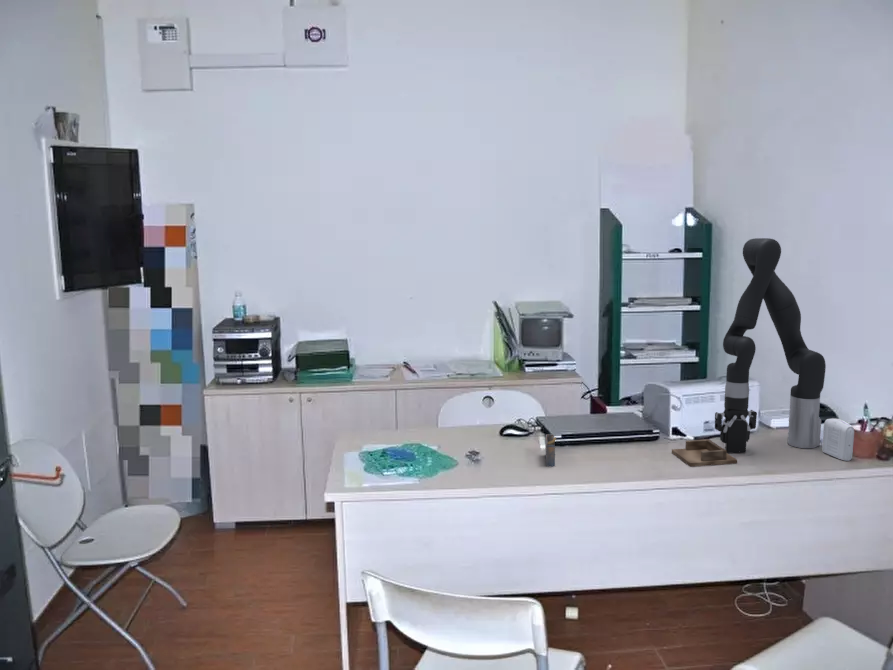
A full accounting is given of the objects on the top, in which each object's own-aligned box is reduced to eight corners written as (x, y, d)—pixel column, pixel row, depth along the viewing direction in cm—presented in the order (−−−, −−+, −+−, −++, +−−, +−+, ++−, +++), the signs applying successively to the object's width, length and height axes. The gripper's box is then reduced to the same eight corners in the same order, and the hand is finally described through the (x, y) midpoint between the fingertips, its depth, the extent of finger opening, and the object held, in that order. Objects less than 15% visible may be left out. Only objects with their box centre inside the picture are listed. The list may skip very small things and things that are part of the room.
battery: (742, 449, 262) (744, 417, 260) (746, 453, 259) (748, 420, 257) (722, 449, 263) (723, 417, 261) (725, 453, 259) (727, 420, 257)
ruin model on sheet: (556, 467, 250) (556, 439, 249) (546, 467, 251) (546, 438, 249) (554, 456, 261) (554, 428, 260) (545, 456, 262) (545, 428, 260)
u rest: (716, 449, 263) (716, 437, 262) (737, 463, 249) (737, 450, 249) (671, 452, 261) (671, 440, 260) (690, 466, 247) (690, 454, 246)
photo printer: (854, 460, 250) (857, 423, 248) (843, 461, 249) (846, 424, 246) (830, 450, 260) (832, 415, 257) (819, 452, 258) (822, 416, 256)
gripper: (750, 390, 262) (748, 437, 265) (711, 392, 260) (709, 439, 263) (762, 395, 255) (760, 443, 257) (722, 398, 253) (720, 446, 255)
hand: (734, 441), depth 260 cm, fingers closed on battery, 7 cm apart
